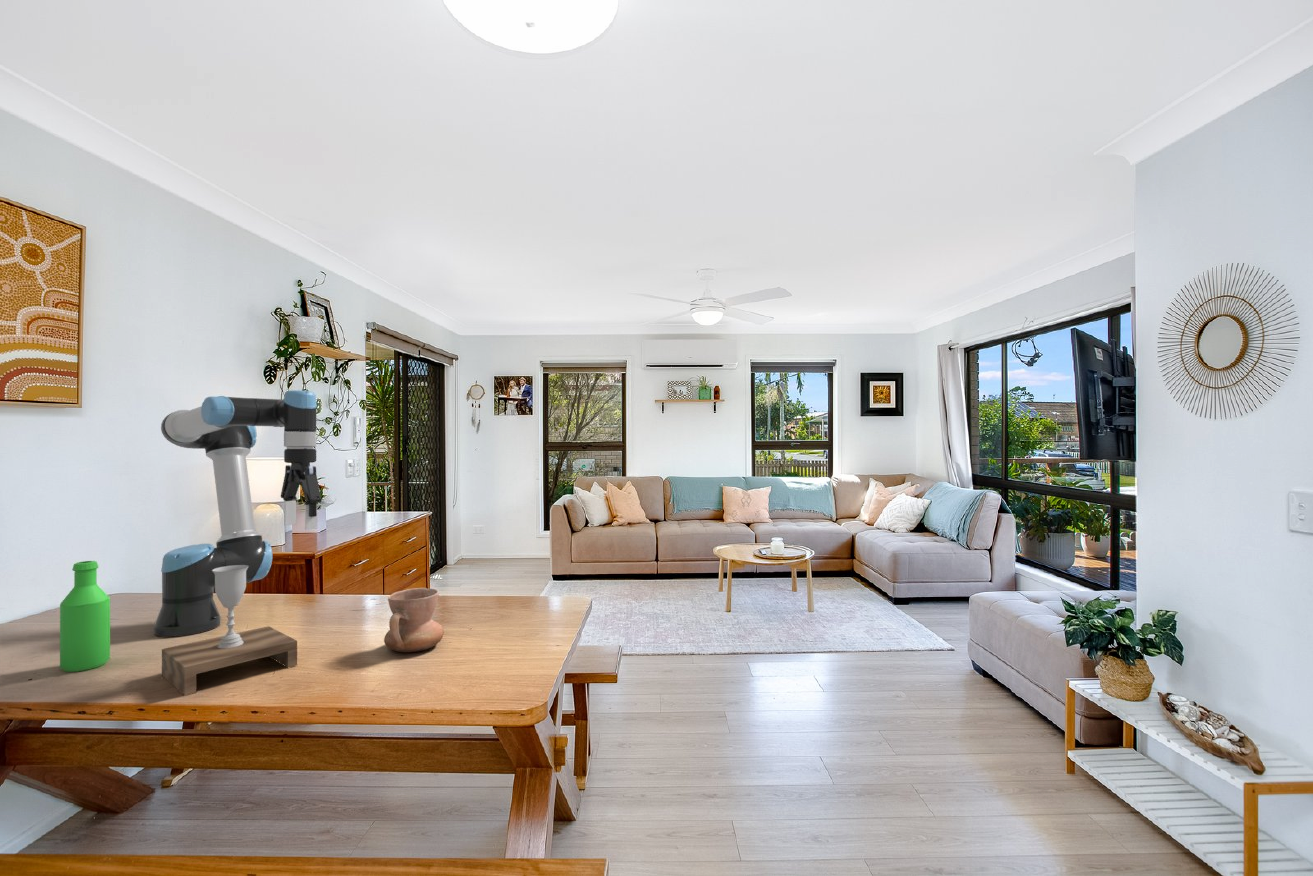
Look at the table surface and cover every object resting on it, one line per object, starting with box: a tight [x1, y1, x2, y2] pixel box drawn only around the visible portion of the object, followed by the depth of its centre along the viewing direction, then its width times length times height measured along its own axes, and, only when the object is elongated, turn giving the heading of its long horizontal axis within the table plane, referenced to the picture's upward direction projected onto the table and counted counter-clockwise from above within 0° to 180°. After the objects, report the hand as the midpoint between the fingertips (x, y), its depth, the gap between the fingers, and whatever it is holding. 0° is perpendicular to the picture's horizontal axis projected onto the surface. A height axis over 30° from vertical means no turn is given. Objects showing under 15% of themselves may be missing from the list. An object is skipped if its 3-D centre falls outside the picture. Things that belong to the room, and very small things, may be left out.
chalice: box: [212, 565, 249, 648], centre depth 144 cm, size 7×7×18 cm
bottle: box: [59, 560, 111, 673], centre depth 147 cm, size 9×9×25 cm
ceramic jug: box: [383, 587, 445, 653], centre depth 160 cm, size 18×14×14 cm
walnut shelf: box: [161, 625, 298, 696], centre depth 144 cm, size 18×22×6 cm
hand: (300, 526), depth 165 cm, fingers open, 13 cm apart
